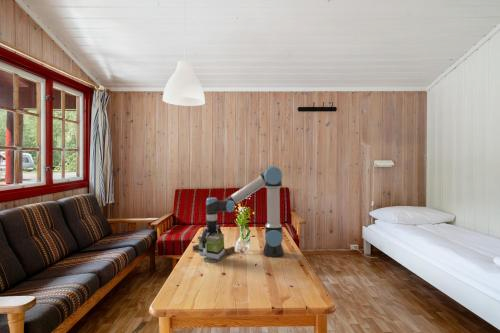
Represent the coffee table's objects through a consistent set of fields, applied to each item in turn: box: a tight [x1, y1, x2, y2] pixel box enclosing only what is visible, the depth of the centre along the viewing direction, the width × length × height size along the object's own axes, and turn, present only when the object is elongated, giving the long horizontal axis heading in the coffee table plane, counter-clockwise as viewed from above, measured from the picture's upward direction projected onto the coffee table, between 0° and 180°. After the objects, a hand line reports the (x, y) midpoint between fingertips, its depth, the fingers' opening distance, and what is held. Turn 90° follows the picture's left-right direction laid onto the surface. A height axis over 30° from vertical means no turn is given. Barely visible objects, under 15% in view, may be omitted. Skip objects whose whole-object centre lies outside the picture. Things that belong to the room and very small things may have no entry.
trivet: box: [203, 256, 222, 263], centre depth 217 cm, size 12×12×1 cm
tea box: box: [197, 233, 225, 259], centre depth 216 cm, size 15×10×15 cm, turn 68°
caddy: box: [192, 243, 236, 258], centre depth 236 cm, size 18×27×4 cm, turn 51°
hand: (212, 250), depth 217 cm, fingers open, 13 cm apart
